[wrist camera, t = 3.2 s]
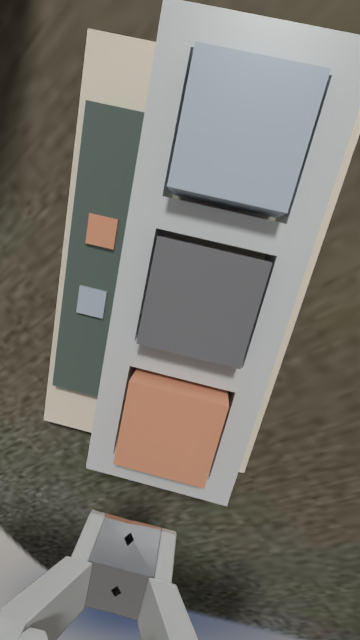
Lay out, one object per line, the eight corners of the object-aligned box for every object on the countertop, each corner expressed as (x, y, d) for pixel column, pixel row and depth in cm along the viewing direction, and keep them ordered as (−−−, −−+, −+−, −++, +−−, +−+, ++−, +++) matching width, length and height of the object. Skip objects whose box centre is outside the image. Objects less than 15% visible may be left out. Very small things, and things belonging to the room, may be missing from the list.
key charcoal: (263, 259, 15) (272, 262, 13) (236, 351, 16) (240, 369, 14) (165, 236, 15) (157, 235, 13) (147, 329, 16) (136, 343, 14)
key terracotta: (226, 383, 17) (229, 406, 14) (205, 457, 18) (204, 488, 16) (140, 362, 17) (129, 381, 15) (125, 436, 18) (112, 464, 16)
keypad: (365, 96, 15) (417, 46, 11) (242, 462, 21) (249, 512, 17) (95, 41, 16) (56, -24, 12) (51, 412, 22) (16, 449, 18)
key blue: (310, 99, 13) (331, 68, 11) (275, 217, 14) (287, 213, 12) (198, 76, 13) (195, 41, 11) (174, 194, 15) (166, 186, 12)
